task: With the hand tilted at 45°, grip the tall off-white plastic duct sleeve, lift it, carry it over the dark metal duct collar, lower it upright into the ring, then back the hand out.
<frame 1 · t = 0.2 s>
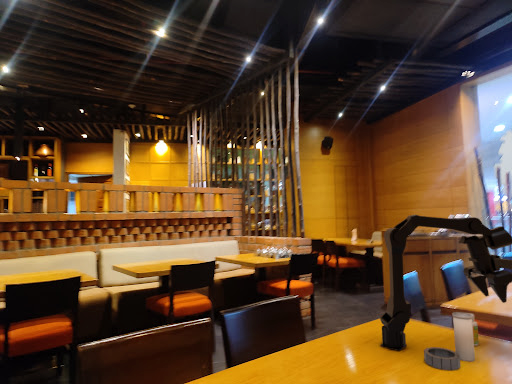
hand: (495, 299, 112), 16 cm above the table, tool pointing down, fingers open, 9 cm apart
supplement bottle: (469, 343, 115), on the table
duct collar: (442, 363, 99), on the table
duct sleeve: (465, 358, 103), on the table
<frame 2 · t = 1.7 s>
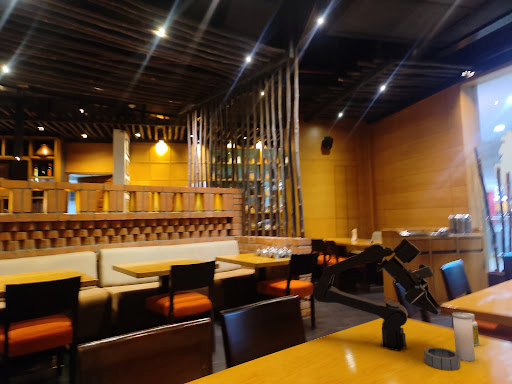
hand: (437, 310, 107), 13 cm above the table, tool tilted 45°, fingers open, 9 cm apart
nothing on the table moved.
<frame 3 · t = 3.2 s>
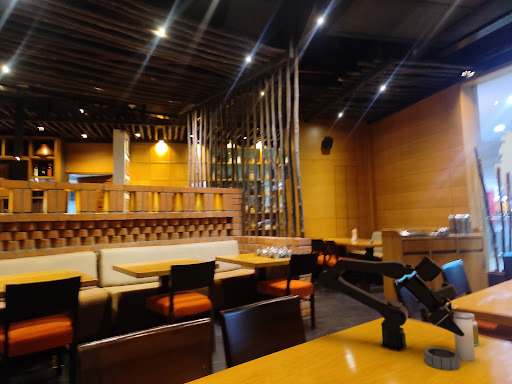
hand: (463, 331, 103), 8 cm above the table, tool tilted 45°, fingers open, 9 cm apart
nothing on the table moved.
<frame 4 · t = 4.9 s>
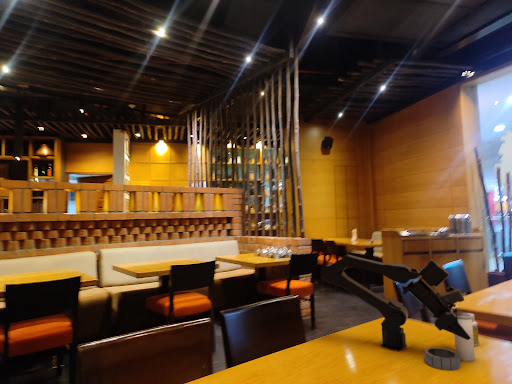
hand: (469, 336, 102), 7 cm above the table, tool tilted 45°, fingers closed on duct sleeve, 5 cm apart
duct sleeve: (465, 357, 103), on the table, touching gripper
everything else where it was.
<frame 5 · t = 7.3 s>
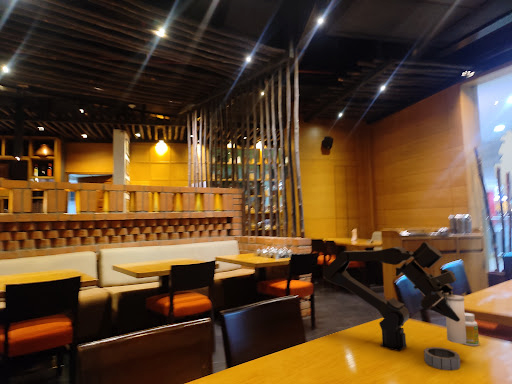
hand: (460, 318, 101), 12 cm above the table, tool tilted 45°, fingers closed on duct sleeve, 5 cm apart
duct sleeve: (456, 340, 101), point 6 cm above the table, touching gripper
everything else where it was.
when the fingers open (8 cm above the table, at t = 9.7 s): duct sleeve drops 1 cm, resting in duct collar.
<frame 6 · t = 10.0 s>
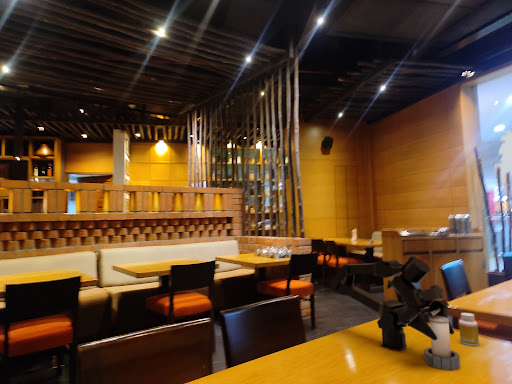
hand: (444, 336, 98), 8 cm above the table, tool tilted 45°, fingers open, 9 cm apart
duct sleeve: (441, 363, 99), resting in duct collar
everything else where it was.
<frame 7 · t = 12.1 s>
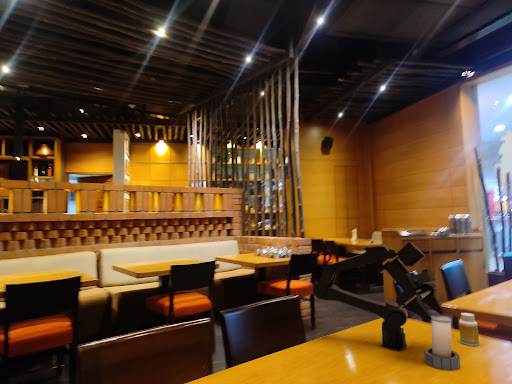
hand: (436, 317, 104), 12 cm above the table, tool tilted 45°, fingers open, 9 cm apart
nothing on the table moved.
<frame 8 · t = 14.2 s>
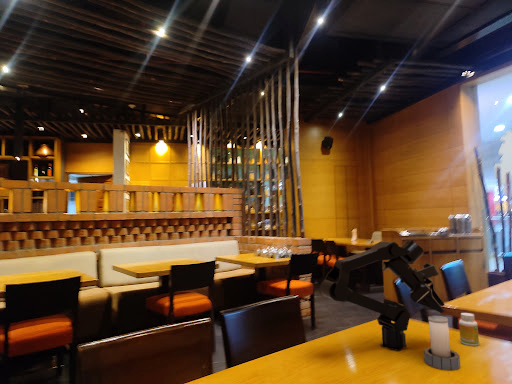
hand: (443, 308, 109), 14 cm above the table, tool tilted 45°, fingers open, 9 cm apart
at the end: duct sleeve 0.0 cm off-centre on the duct collar, point 0.0 cm above the duct collar's base; duct sleeve tilted 1°; the gripper is holding nothing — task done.
